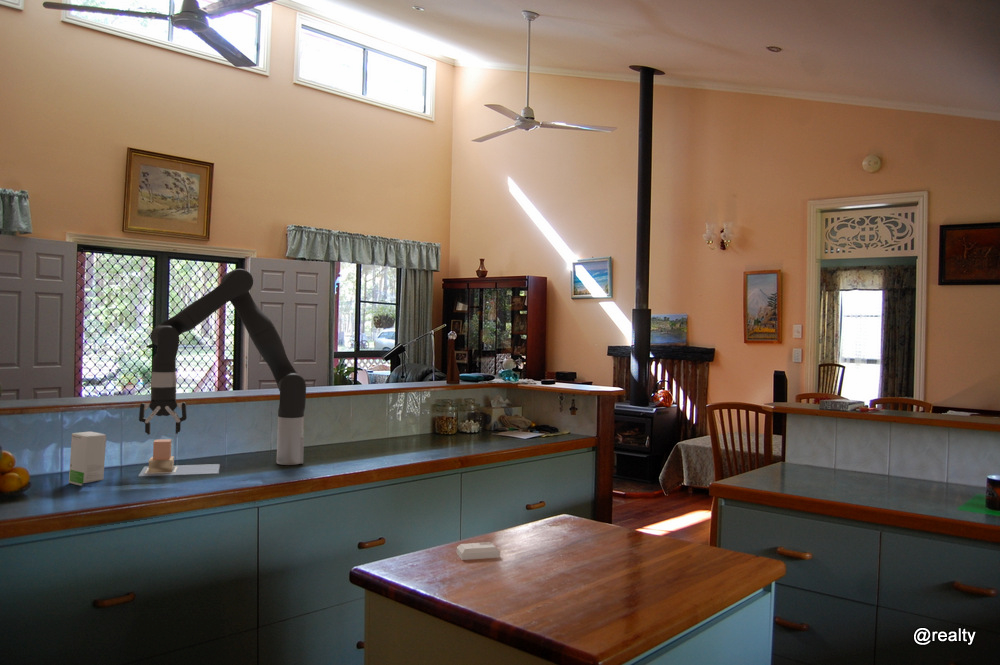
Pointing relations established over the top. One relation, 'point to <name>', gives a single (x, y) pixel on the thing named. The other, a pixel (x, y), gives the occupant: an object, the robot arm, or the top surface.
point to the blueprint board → (185, 470)
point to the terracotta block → (162, 449)
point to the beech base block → (161, 465)
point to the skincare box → (87, 457)
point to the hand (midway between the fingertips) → (162, 433)
